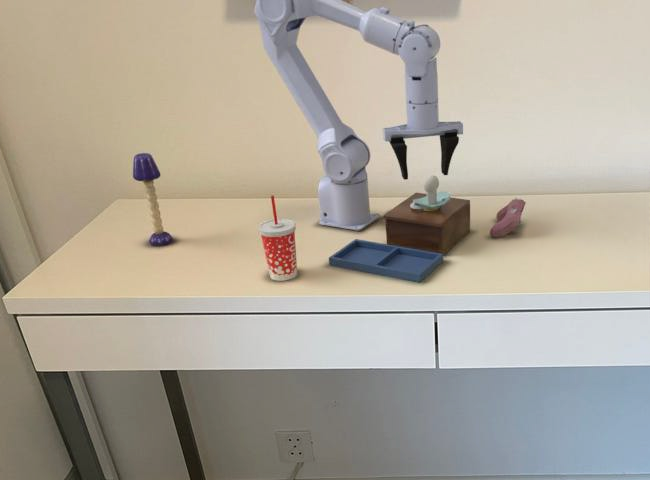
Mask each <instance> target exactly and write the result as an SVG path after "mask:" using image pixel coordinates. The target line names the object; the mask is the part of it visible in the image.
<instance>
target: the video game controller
mask: <svg viewBox="0 0 650 480" xmlns="http://www.w3.org/2000/svg"><path fill="white" fill-rule="evenodd" d="M526 203H527V202H526V201H524V199H521V198H518V197H515V199H513V198H512V199H511V201H509V202H508V204H506V206H504V207H502V208H501V209H499V211H497V213H496V217H495V219H496V220H497V221H498V222H497V223H496V222H495V224H493V225H492V227H491V228H490V229H489V235H490V236H491V238H501V237H504V236H505V235H507V234H512V232H513V231H514V230H515V228H516V227H517V226H518V227H520V226H521V225H522V223H523V219H521V218H522V215H523V211H524V209H525V207H526Z"/></svg>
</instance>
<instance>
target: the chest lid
mask: <svg viewBox="0 0 650 480" xmlns="http://www.w3.org/2000/svg"><path fill="white" fill-rule="evenodd" d="M426 196H427V193H422V192H415V193H413V194H411V195H410V196H409V197H407V198H406V199H404V200H403V201H402V202H400V203H398V205H396V206H394V207H393V208H391V209H390V210H389V211H387V212H385V213H384V214H382V219H384V220H385V219H390V220H396V221H403V222H409V223H416V224H422V225H428V226H435V227H441V226H442V225H443V224H445V223H446V222H447V221H448V220H450V219H451V218H452V217H453V216H455V215H456V214H457V213H458V212H460V211H461V210H462V209H463V208H465V207H466V206H467V205H468V204H469V203H470V204H471V200H470V199H465V198H458V197H452V196H450V200H449V201H448V202H447V203H446V204H444V205H442V206H440V208H439V209H437V210H434V211H424V210H417V209H412V208H411V207H410V205H411V204H412V203H413V199H419V198H423V197H426ZM443 201H445V200H443ZM417 206H420V205H417Z"/></svg>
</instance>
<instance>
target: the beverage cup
mask: <svg viewBox="0 0 650 480" xmlns="http://www.w3.org/2000/svg"><path fill="white" fill-rule="evenodd" d="M270 200H271V206H272V214H273V219H268V220H265V221H262V222H260V223H259V224H258V225H257V230H258V233H259V235H260V238H261V242H262V247H263V251H264V256H265V260H266V264H267V268H268V273H269V277H270V279H271V280H273V281H276V282H277V281H278V282H281V281H282V282H283V281H290V280H292V279H294V278H296V277H297V276H298V264H297V249H296V248H297V247H296V246H297V245H296V234H295V231H296V229H297V228H296V222H295V221H294V220H291V219H287V218H278V215H277V208H276V202H275V201H276V200H275V195H270Z"/></svg>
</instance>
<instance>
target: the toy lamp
mask: <svg viewBox="0 0 650 480" xmlns="http://www.w3.org/2000/svg"><path fill="white" fill-rule="evenodd" d="M132 163H133V164H132V177H133V179H134V180H135V181H137V182H143V185H144V186H145V187H144V191H145V193H146V199H147V202H148V208H149V210H150V212H149V215H150V218H151V224H152V225H153V233H152V234H151V235H150V237H149V244H150V245H151V246H153V247H154V246H155V247H162V246H163V247H164V246H168V245H170V244H172V243H173V242H174V239H173V236H172V234H170V233H169V232H168V231H164V226H163V225H162V224H163V220H162V218H161V211H160V204H159V202H158V196H157V194H156V187H155V185H154V182H155V180H157V179H159V178H160V177H161V172H160V170H159V168H158V165H157V163H156V161H155V159H154V158H153V155H152V154H150V153H148V152H141V153H137V154H135V155H134V156H133V162H132Z"/></svg>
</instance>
